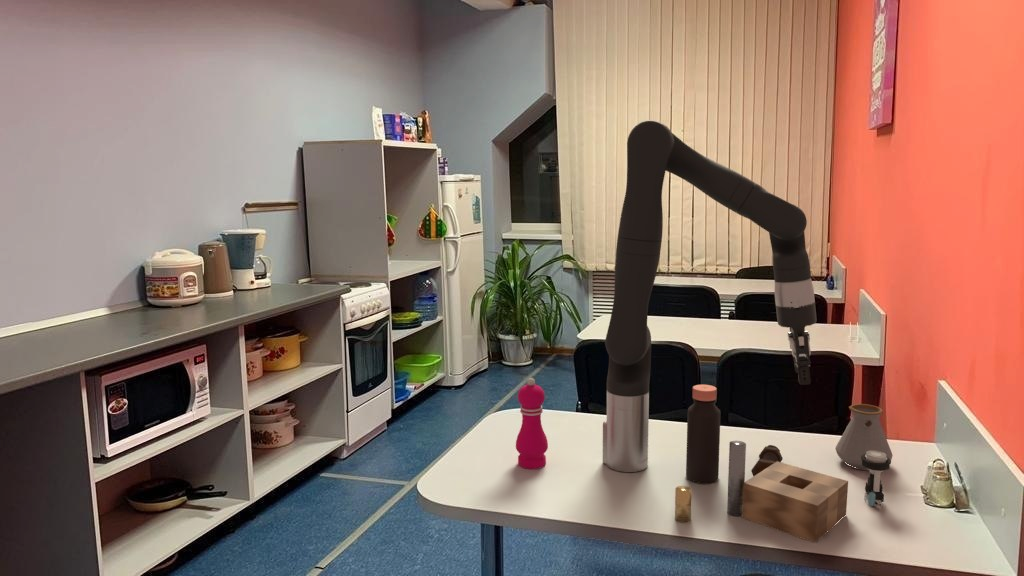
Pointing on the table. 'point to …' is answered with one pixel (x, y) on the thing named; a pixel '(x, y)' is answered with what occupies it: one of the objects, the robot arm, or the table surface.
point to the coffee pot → (862, 436)
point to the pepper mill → (531, 427)
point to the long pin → (736, 477)
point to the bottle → (703, 436)
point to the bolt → (767, 459)
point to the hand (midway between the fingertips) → (802, 378)
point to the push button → (875, 476)
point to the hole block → (795, 500)
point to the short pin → (683, 504)
